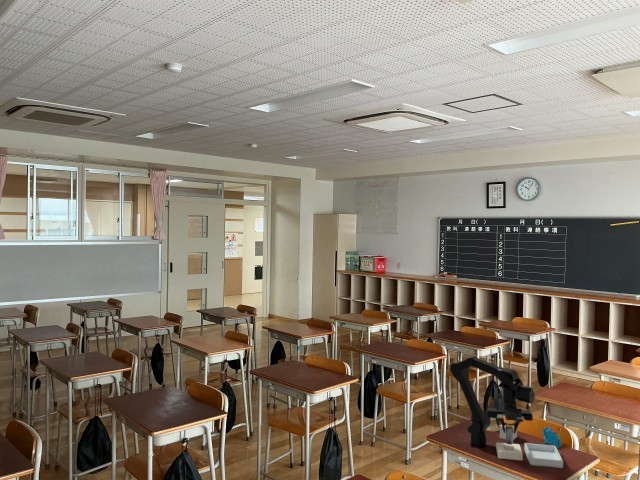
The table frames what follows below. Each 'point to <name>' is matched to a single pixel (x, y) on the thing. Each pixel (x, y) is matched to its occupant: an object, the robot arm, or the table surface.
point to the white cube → (503, 435)
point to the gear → (551, 437)
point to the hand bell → (493, 425)
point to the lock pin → (509, 432)
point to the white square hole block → (509, 451)
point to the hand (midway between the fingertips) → (509, 433)
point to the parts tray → (543, 455)
